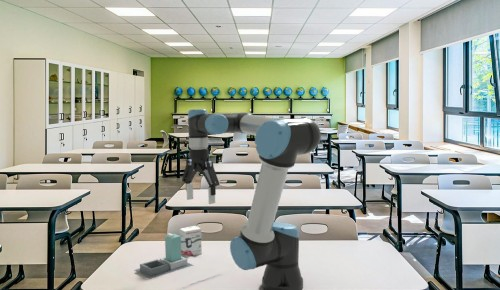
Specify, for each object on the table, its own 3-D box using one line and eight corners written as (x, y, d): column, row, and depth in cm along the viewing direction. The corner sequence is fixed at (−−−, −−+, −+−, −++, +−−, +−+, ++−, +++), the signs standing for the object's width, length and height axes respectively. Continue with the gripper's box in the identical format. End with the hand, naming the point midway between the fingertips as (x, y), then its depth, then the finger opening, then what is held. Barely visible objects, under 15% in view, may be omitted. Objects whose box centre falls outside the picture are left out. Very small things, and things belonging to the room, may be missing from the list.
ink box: (184, 257, 200) (183, 231, 198) (179, 254, 204) (178, 228, 202) (202, 254, 204) (201, 228, 203) (196, 250, 208) (196, 225, 207)
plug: (181, 264, 188) (180, 233, 187) (172, 267, 185) (171, 236, 184) (175, 261, 191) (174, 231, 190) (165, 264, 188) (165, 233, 187)
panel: (193, 268, 188) (193, 259, 187) (150, 281, 174) (150, 272, 174) (176, 260, 196) (176, 252, 196) (134, 273, 183) (133, 264, 182)
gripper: (227, 148, 177) (229, 203, 178) (186, 146, 194) (188, 196, 196) (212, 150, 171) (214, 207, 173) (172, 147, 189) (174, 199, 191)
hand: (200, 201), depth 185 cm, fingers open, 13 cm apart
